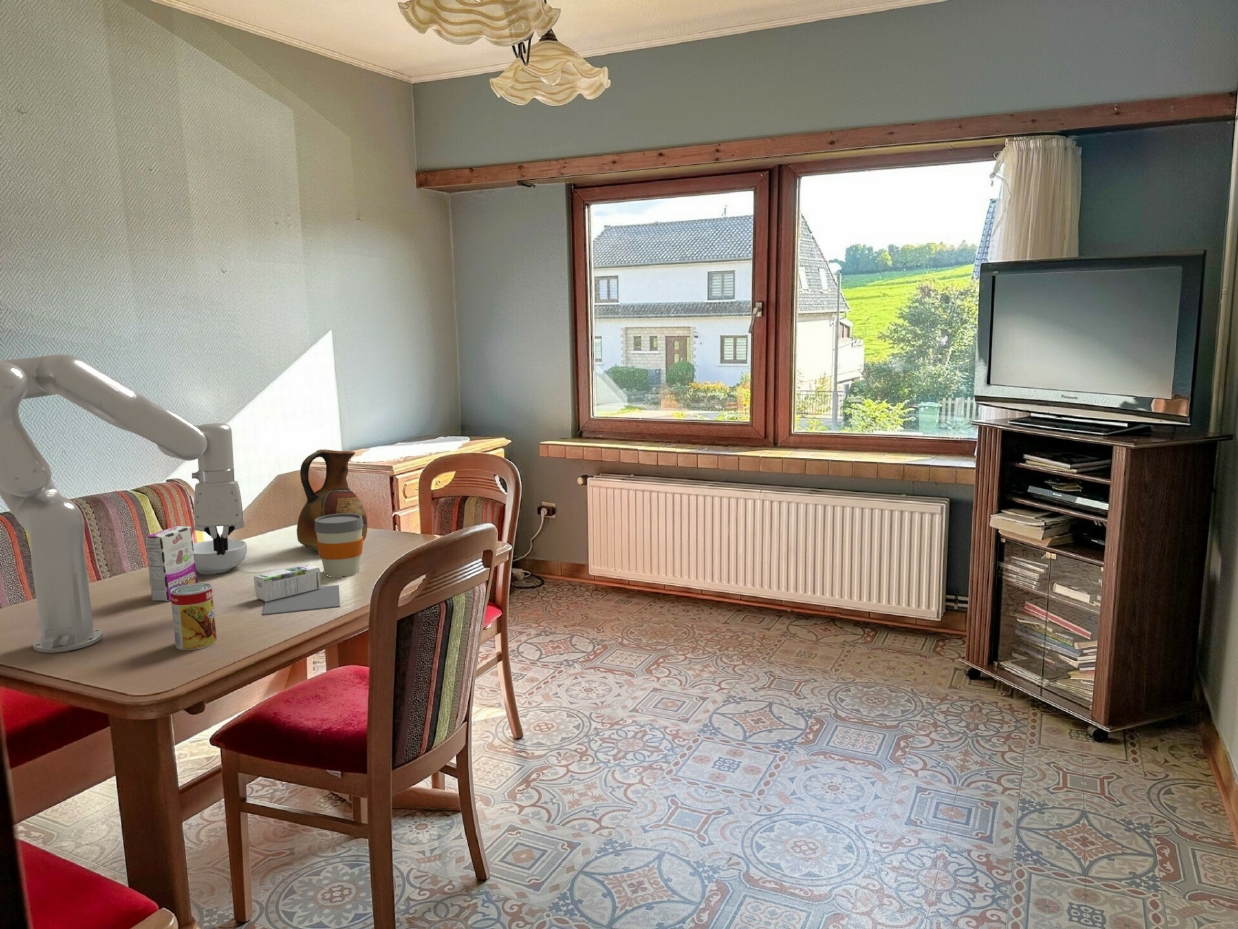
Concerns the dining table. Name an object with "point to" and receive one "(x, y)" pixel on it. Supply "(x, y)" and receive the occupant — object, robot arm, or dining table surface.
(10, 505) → the robot arm
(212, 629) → the canned food
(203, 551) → the cereal bowl
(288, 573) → the syrup box
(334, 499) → the ceramic pitcher
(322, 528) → the reusable coffee cup
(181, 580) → the candy bar box
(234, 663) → the dining table surface
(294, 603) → the mat
